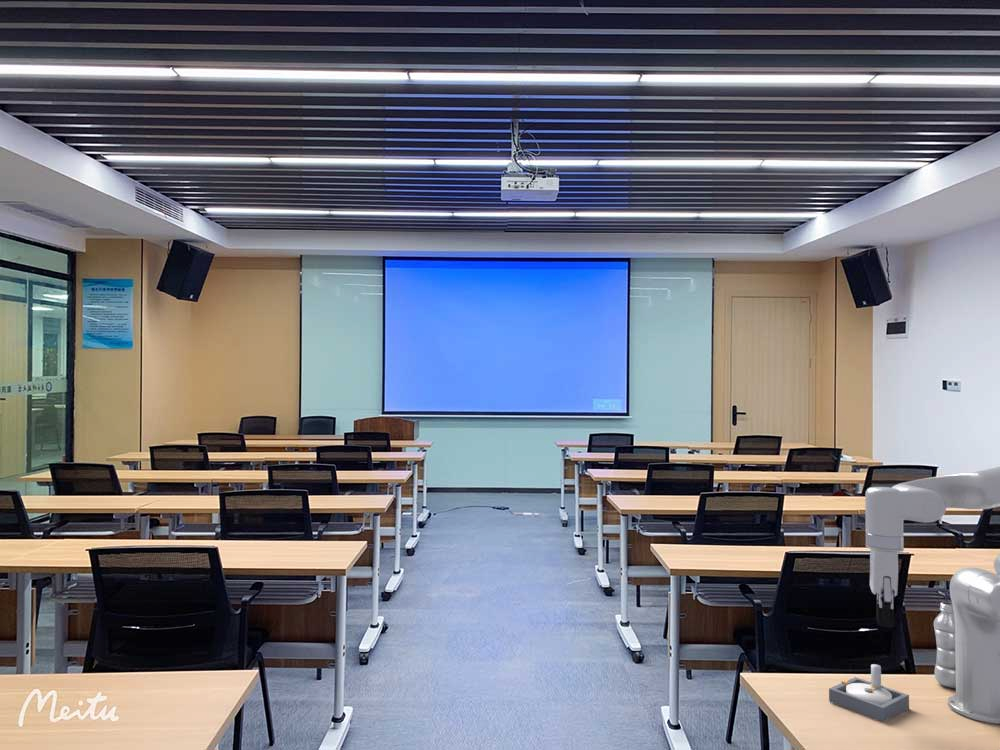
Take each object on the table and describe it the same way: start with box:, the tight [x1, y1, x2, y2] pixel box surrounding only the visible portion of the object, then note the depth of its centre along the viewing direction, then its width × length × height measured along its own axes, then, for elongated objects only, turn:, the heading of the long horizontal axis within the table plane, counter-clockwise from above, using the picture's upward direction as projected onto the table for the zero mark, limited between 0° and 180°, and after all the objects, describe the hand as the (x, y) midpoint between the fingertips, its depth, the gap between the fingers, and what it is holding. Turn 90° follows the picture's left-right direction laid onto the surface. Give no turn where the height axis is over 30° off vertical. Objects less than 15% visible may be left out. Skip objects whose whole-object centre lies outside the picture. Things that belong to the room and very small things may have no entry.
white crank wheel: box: [846, 663, 892, 705], centre depth 154 cm, size 9×9×7 cm
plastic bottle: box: [933, 601, 956, 689], centre depth 166 cm, size 6×7×20 cm
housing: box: [828, 677, 910, 723], centre depth 154 cm, size 12×12×4 cm
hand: (885, 623), depth 153 cm, fingers open, 2 cm apart
